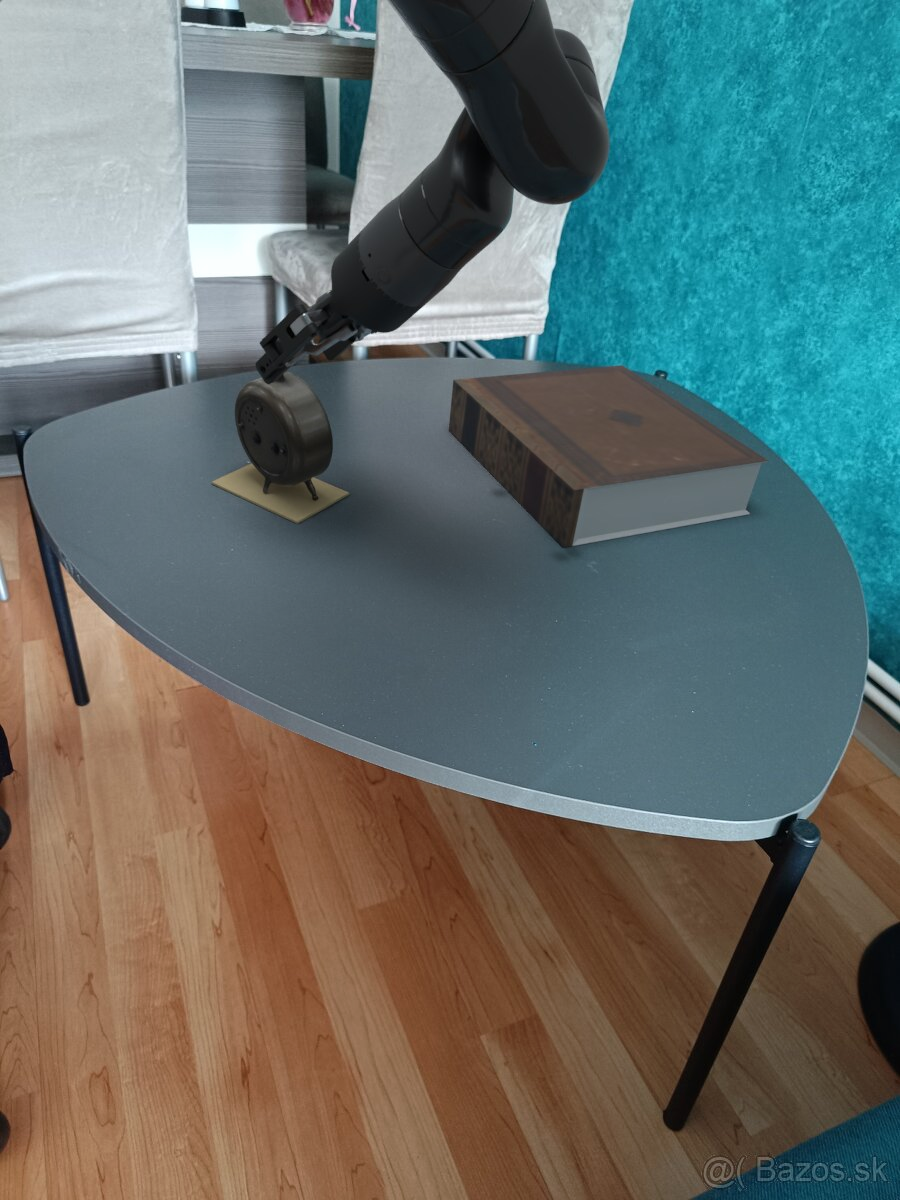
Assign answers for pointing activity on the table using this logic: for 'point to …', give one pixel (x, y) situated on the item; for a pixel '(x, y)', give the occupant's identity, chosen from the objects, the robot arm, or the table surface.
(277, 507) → the mat
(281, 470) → the alarm clock
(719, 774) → the table surface
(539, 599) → the table surface
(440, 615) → the table surface
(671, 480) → the book
